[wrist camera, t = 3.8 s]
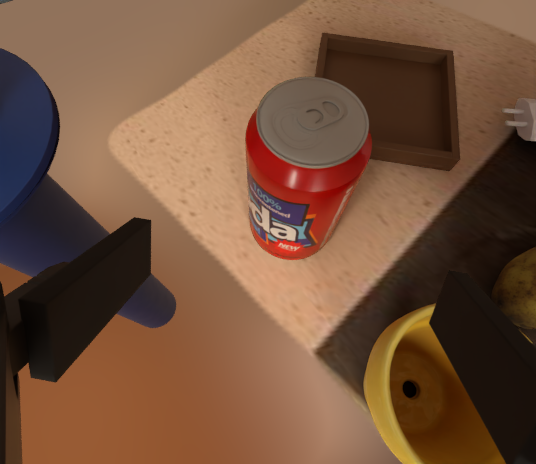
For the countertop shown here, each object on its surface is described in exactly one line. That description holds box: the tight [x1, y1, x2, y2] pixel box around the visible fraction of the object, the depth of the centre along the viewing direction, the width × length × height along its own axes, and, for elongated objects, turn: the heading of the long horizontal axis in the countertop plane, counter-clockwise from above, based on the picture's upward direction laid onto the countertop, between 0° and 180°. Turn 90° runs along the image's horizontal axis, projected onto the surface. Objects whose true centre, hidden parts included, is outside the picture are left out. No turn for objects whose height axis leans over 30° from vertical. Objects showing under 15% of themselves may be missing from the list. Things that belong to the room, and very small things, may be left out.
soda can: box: [245, 77, 372, 260], centre depth 26 cm, size 8×8×15 cm
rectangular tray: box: [315, 33, 460, 171], centre depth 39 cm, size 16×16×2 cm
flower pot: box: [364, 304, 532, 464], centre depth 23 cm, size 10×10×10 cm
